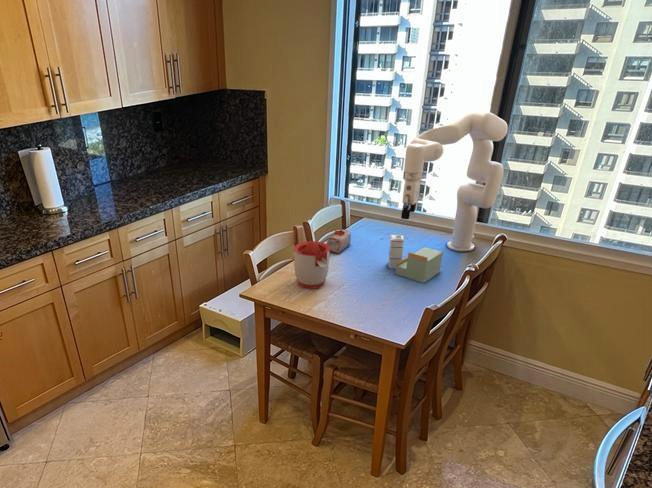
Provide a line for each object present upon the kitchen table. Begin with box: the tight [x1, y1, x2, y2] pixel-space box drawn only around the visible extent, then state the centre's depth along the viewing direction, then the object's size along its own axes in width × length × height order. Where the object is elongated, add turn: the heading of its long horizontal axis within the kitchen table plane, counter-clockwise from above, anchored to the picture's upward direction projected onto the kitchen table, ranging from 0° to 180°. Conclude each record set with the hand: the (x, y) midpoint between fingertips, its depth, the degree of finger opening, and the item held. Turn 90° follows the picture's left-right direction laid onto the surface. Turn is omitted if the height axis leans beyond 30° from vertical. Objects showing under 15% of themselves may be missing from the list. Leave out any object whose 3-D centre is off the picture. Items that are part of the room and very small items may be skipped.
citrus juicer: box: [293, 240, 330, 289], centre depth 223 cm, size 16×17×20 cm
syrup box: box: [388, 234, 405, 270], centre depth 236 cm, size 6×6×14 cm
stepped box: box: [395, 246, 444, 284], centre depth 229 cm, size 14×14×12 cm
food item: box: [326, 229, 352, 255], centre depth 258 cm, size 14×8×10 cm, turn 144°
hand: (407, 215), depth 222 cm, fingers open, 9 cm apart
